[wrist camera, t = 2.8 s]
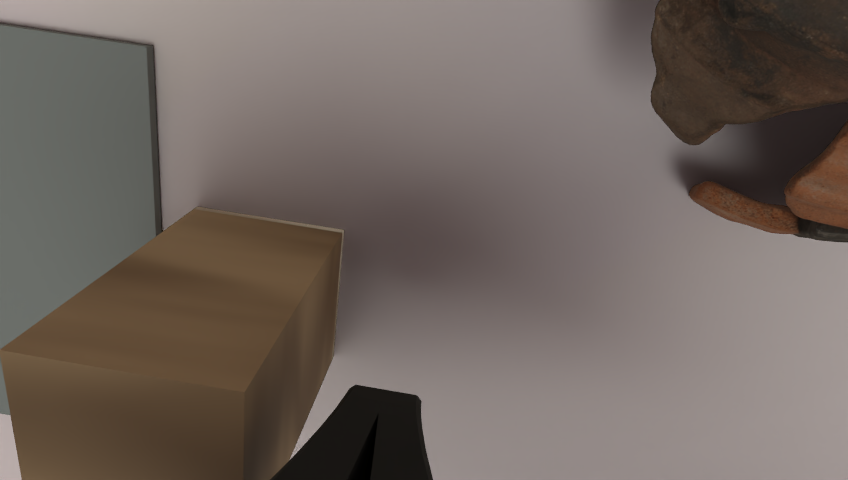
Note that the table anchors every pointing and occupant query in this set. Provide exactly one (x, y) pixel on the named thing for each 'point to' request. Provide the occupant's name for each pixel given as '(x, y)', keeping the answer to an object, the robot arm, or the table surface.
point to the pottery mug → (757, 95)
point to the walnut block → (181, 356)
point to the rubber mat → (71, 167)
